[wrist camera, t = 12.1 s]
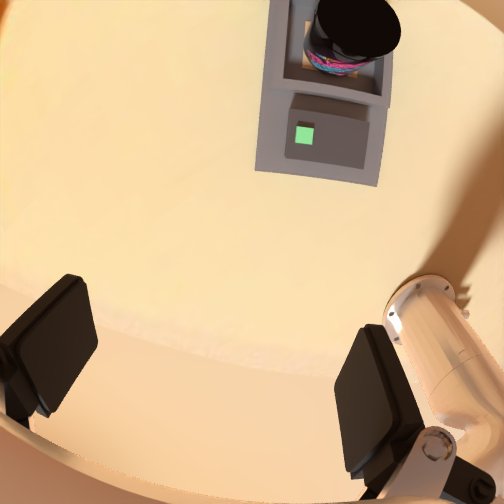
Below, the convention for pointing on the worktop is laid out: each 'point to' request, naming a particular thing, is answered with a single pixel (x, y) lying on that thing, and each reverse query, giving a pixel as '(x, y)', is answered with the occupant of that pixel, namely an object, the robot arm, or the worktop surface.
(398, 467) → the robot arm
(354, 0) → the supplement container
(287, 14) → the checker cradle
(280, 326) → the worktop surface
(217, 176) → the worktop surface
